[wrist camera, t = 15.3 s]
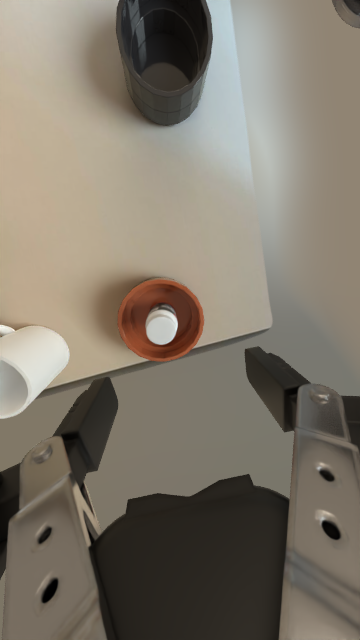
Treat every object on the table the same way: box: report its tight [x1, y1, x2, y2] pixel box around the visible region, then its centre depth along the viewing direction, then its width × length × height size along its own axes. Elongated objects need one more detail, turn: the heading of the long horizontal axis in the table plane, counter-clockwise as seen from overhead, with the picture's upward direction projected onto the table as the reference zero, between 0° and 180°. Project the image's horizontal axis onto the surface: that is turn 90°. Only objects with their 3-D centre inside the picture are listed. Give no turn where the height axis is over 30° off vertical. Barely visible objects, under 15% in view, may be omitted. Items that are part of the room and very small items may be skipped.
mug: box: [0, 325, 70, 419], centre depth 28 cm, size 13×10×10 cm
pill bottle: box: [145, 302, 178, 345], centre depth 28 cm, size 5×5×8 cm
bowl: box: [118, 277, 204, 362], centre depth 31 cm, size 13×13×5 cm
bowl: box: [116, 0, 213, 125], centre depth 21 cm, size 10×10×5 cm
